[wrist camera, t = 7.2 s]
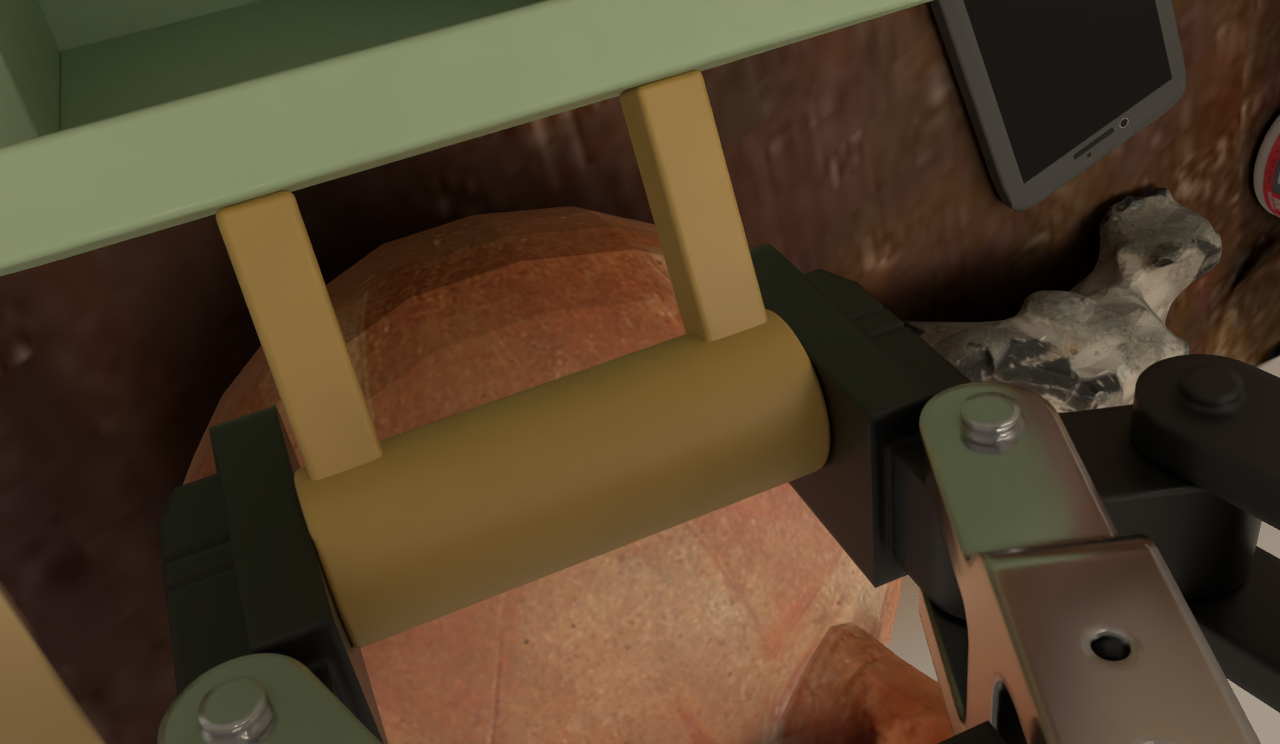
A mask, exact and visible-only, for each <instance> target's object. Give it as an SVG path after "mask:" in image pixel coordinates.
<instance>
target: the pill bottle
mask: <svg viewBox="0 0 1280 744" xmlns="http://www.w3.org/2000/svg"><path fill="white" fill-rule="evenodd" d="M1254 190H1255V193H1256V196H1257V199H1258V201H1259V202H1260V204H1261V205H1262V206H1263V207H1264V208H1265V209H1266V210H1267V211H1268V212H1270V213H1271V214H1273V215H1275V216H1277V217H1279V218H1280V115H1279V116H1278V117H1277V118H1276V120H1275V121H1274V123H1273V124H1272V125H1271V127H1270V129H1269V130H1268V132H1267V134H1266V135H1265V137H1264V140H1263V142H1262V144H1261V146H1260V149H1259V151H1258V155H1257V158H1256V162H1255V167H1254Z"/></svg>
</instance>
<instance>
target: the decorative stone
mask: <svg viewBox="0 0 1280 744" xmlns="http://www.w3.org/2000/svg"><path fill="white" fill-rule="evenodd" d="M1099 231H1100V238H1101V241H1100V252H1099V257H1098V261H1097V264H1096V266H1095V268H1094V269H1093V271H1092V273H1090V274H1089V275H1088V276H1087V277H1086V278H1084V279H1083V280H1082V281H1081V282H1080V283H1078V284H1077V285H1076V286H1075V287H1073V288H1072V289H1071V290H1070V291H1069V292H1066V291H1037V292H1034V293H1032V294H1030V295H1029V296H1028V297H1027V298H1025V300H1024V303H1023V305H1022V308H1021V310H1020V311H1019V312H1018V313H1017V314H1016V316H1014V317H1011V318H1008V319H1006V320H1000V321H989V322H918V321H909V320H906V321H903V325H904V327H909V328H910V329H912V330H913V331H914V332H915V333H916V334H917V335H918V336H920V337H921V338H922V339H923V340H924V341H925V342H927V343H928V344H929V345H930V346H931V347H932V348H934V349H935V350H936V351H937V352H938V353H939V354H940V355H942V356H943V357H944V358H945V359H946V360H947V361H949V362H950V363H951V364H952V365H953V366H954V367H956V368H957V369H958V370H959V371H960V372H961V373H962V374H964V375H965V376H966V377H967V378H968V379H969V380H971V381H972V382H984V381H985V382H1001V383H1008V384H1012V385H1016V386H1020V387H1023V388H1026V389H1028V390H1031V391H1033V392H1035V393H1037V394H1039V395H1040V396H1042V397H1043V398H1045V399H1046V400H1047V401H1048V402H1049V403H1050V404H1051V405H1052V406H1053V407H1054V408H1055V409H1056V411H1057V412H1058V413H1063V412H1076V411H1083V410H1091V409H1099V408H1107V407H1115V406H1122V405H1130V404H1133V401H1134V393H1135V385H1136V382H1137V379H1138V377H1139V376H1140V374H1141V373H1142V372H1143V371H1144V370H1145V369H1146V368H1148V367H1149V366H1150V365H1152V364H1154V363H1156V362H1158V361H1160V360H1163V359H1166V358H1170V357H1174V356H1179V355H1189V354H1191V352H1190V348H1189V344H1188V343H1187V342H1185V341H1184V340H1182V339H1180V338H1179V337H1177V336H1176V335H1175V334H1173V333H1172V332H1171V331H1169V330H1168V328H1167V327H1166V326H1165V319H1166V316H1167V313H1168V310H1169V308H1170V305H1171V303H1172V302H1173V301H1174V299H1175V298H1176V297H1177V296H1178V294H1179V293H1180V292H1181V291H1182V290H1184V289H1185V288H1186V287H1187V286H1188V285H1189V284H1191V283H1192V282H1193V281H1195V280H1196V279H1198V278H1199V277H1200V276H1202V275H1203V274H1205V273H1206V272H1208V271H1210V270H1211V269H1213V268H1214V267H1215V266H1216V265H1217V263H1218V262H1219V261H1220V257H1221V252H1222V244H1221V237H1220V235H1219V233H1218V232H1217V230H1216V229H1214V228H1213V227H1212V226H1211V224H1210V222H1209V221H1208V220H1207V219H1206V218H1204V217H1202V216H1200V215H1199V214H1197V213H1196V212H1195V211H1193V210H1191V209H1189V208H1186V207H1184V206H1182V205H1180V204H1179V203H1177V202H1176V201H1175V200H1174V199H1173V197H1172V196H1171V194H1170V192H1169V190H1168V189H1166V188H1155V189H1153V190H1150V191H1148V192H1146V193H1145V194H1143V195H1142V196H1140V197H1131V196H1128V197H1126V198H1125V199H1124V200H1123V201H1122V202H1119V203H1117V204H1115V205H1113V206H1111V207H1109V209H1108V210H1107V212H1106V214H1105V216H1104V218H1103V220H1102V221H1101V223H1100V229H1099Z"/></svg>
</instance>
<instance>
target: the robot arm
mask: <svg viewBox="0 0 1280 744" xmlns="http://www.w3.org/2000/svg"><path fill="white" fill-rule="evenodd" d="M749 251H750V255H751V259H752V262H753V266H754V270H755V274H756V277H757V281H758V285H759V289H760V292H761V296H762V300H763V304H764V307H765V309H767V310H770V311H772V312H774V313H776V314H777V315H778V316H780V317H781V318H782V319H783V320H784V321H785V322H786V323H787V324H788V326H789V327H790V328H791V329H792V331H793V332H794V334H795V335H796V337H797V338H798V339H799V341H800V343H801V345H802V346H803V348H804V350H805V352H806V354H807V356H808V357H809V359H810V362H811V364H812V366H813V368H814V371H815V373H816V376H817V378H818V381H819V384H820V387H821V389H822V393H823V396H824V400H825V404H826V408H827V412H828V418H829V424H830V436H831V444H830V453H829V457H828V460H827V462H826V463H825V465H824V466H823V467H822V468H821V469H819V470H818V471H816V472H813V473H811V474H808V475H806V476H803V477H800V478H798V479H795V480H793V481H790V482H788V483H789V484H790V485H791V486H792V488H793V489H794V490H795V491H796V492H797V494H798V495H799V496H800V497H801V498H802V500H803V501H804V502H805V503H806V505H807V506H808V507H809V508H810V509H811V511H812V512H813V513H814V514H815V516H816V517H817V518H818V519H819V520H820V522H821V523H822V524H823V525H824V526H825V528H826V529H827V530H828V531H829V533H830V534H831V535H832V536H833V537H834V539H835V540H836V541H837V542H838V543H839V545H840V546H841V547H842V548H843V550H844V551H845V552H846V553H847V554H848V556H849V557H850V558H851V559H852V560H853V562H854V563H855V564H856V565H857V567H858V568H859V569H860V570H861V571H862V573H863V574H864V575H865V576H866V578H867V579H868V580H869V581H870V582H871V584H872V585H873V586H874V587H875V588H877V587H879V586H882V585H884V584H886V583H889V582H891V581H894V580H896V579H898V578H901V577H903V576H906V575H909V576H910V577H911V578H912V579H913V580H914V582H915V583H916V584H917V585H918V586H919V612H920V618H921V622H922V626H923V629H924V632H925V636H926V640H927V643H928V647H929V650H930V654H931V657H932V661H933V664H934V667H935V671H936V675H937V678H938V682H939V686H940V689H941V693H942V696H943V700H944V703H945V707H946V710H947V714H948V717H949V721H950V724H951V728H952V731H953V735H954V736H953V737H950V738H948V739H946V740H944V741H942V742H939V743H937V744H1261V743H1260V741H1259V739H1258V737H1257V735H1256V733H1255V731H1254V730H1253V728H1252V726H1251V724H1250V722H1249V720H1248V718H1247V716H1246V714H1245V712H1244V711H1243V709H1242V707H1241V705H1240V703H1239V701H1238V699H1237V697H1236V695H1235V694H1234V692H1233V690H1232V688H1231V686H1230V684H1229V682H1228V680H1227V679H1229V680H1230V681H1232V682H1233V683H1235V684H1236V685H1238V686H1239V687H1241V688H1243V689H1244V690H1246V691H1247V692H1249V693H1250V694H1252V695H1254V696H1255V697H1256V698H1258V699H1260V700H1261V701H1263V702H1264V703H1266V704H1267V705H1269V706H1270V707H1272V708H1273V709H1275V710H1276V711H1278V712H1279V713H1280V559H1279V558H1277V557H1275V556H1273V555H1272V554H1270V553H1268V552H1266V551H1264V550H1263V549H1261V548H1259V547H1257V546H1256V544H1257V539H1258V535H1259V531H1260V526H1261V522H1262V521H1264V522H1266V523H1267V524H1269V525H1271V526H1273V527H1275V528H1277V529H1278V530H1280V378H1279V377H1277V376H1274V375H1272V374H1270V373H1268V372H1265V371H1263V370H1261V369H1259V368H1256V367H1254V366H1252V365H1249V364H1247V363H1244V362H1242V361H1239V360H1235V359H1231V358H1228V357H1222V356H1216V355H1206V354H1189V355H1179V356H1174V357H1170V358H1166V359H1163V360H1160V361H1158V362H1156V363H1154V364H1152V365H1150V366H1149V367H1148V368H1146V369H1145V370H1144V371H1143V372H1142V373H1141V374H1140V376H1139V377H1138V379H1137V382H1136V385H1135V393H1134V401H1133V404H1130V405H1122V406H1115V407H1107V408H1099V409H1091V410H1083V411H1076V412H1063V413H1058V412H1057V411H1056V409H1055V408H1054V407H1053V406H1052V405H1051V404H1050V403H1049V402H1048V401H1047V400H1046V399H1045V398H1043V397H1042V396H1040V395H1039V394H1037V393H1035V392H1033V391H1031V390H1028V389H1026V388H1023V387H1020V386H1016V385H1012V384H1008V383H1001V382H985V381H984V382H972V381H971V380H969V379H968V378H967V377H966V376H965V375H964V374H962V373H961V372H960V371H959V370H958V369H957V368H956V367H954V366H953V365H952V364H951V363H950V362H949V361H947V360H946V359H945V358H944V357H943V356H942V355H940V354H939V353H938V352H937V351H936V350H935V349H934V348H932V347H931V346H930V345H929V344H928V343H927V342H925V341H924V340H923V339H922V338H921V337H920V336H918V335H917V334H916V333H915V332H914V331H913V330H912V329H910V328H909V327H904V325H903V322H902V321H901V320H900V319H899V318H898V317H896V316H895V315H894V314H893V313H892V312H891V311H890V310H888V309H885V310H884V308H883V304H881V303H880V302H879V301H878V300H877V299H876V298H874V297H873V296H872V295H871V294H870V293H869V292H868V291H866V290H865V289H864V288H863V287H862V286H861V285H859V284H858V283H857V282H854V281H851V280H849V279H846V278H843V277H841V276H838V275H835V274H833V273H830V272H827V271H825V270H822V269H818V270H815V271H812V272H809V273H806V274H803V273H801V272H800V271H799V270H798V269H797V268H796V267H795V266H794V265H793V264H792V263H791V262H789V261H788V260H787V259H786V258H785V257H784V256H783V255H782V254H781V253H780V252H778V251H777V250H776V249H775V248H774V247H773V246H771V245H769V244H763V245H760V246H757V247H754V248H751V249H749ZM209 433H210V439H211V444H212V449H213V455H214V460H215V465H216V471H217V474H214V475H211V476H208V477H205V478H202V479H199V480H196V481H193V482H190V483H187V484H184V485H181V486H178V487H176V488H174V490H173V492H172V495H171V497H170V499H169V501H168V503H167V506H166V508H165V510H164V512H163V514H162V517H161V519H160V521H159V523H158V529H159V537H160V546H161V555H162V560H163V562H164V565H163V572H164V581H165V587H166V589H167V593H166V598H167V607H168V615H169V624H170V632H171V641H172V650H173V658H174V667H175V676H176V684H177V697H176V699H175V700H174V701H173V702H172V703H171V705H170V707H169V708H168V710H167V711H166V713H165V715H164V717H163V719H162V722H161V724H160V727H159V731H158V736H157V744H388V741H387V738H386V734H385V731H384V728H383V724H382V721H381V717H380V714H379V710H378V707H377V704H376V700H375V697H374V693H373V690H372V687H371V683H370V680H369V676H368V673H367V670H366V666H365V663H364V659H363V656H362V652H361V649H360V648H356V647H355V646H354V645H353V644H352V643H351V641H350V640H349V638H348V636H347V633H346V631H345V629H344V626H343V624H342V622H341V619H340V617H339V614H338V612H337V609H336V606H335V604H334V601H333V598H332V596H331V593H330V590H329V588H328V585H327V582H326V579H325V577H324V574H323V571H322V568H321V565H320V562H319V560H318V557H317V554H316V551H315V548H314V545H313V542H312V539H311V536H310V534H309V531H308V528H307V525H306V522H305V519H304V516H303V512H302V509H301V506H300V502H299V499H298V495H297V492H296V488H295V483H294V473H295V472H296V471H297V470H298V469H300V468H301V467H300V465H299V462H298V460H297V457H296V455H295V452H294V449H293V447H292V444H291V442H290V439H289V436H288V434H287V431H286V429H285V426H284V424H283V421H282V418H281V416H280V414H279V411H278V409H277V407H276V405H274V406H271V407H268V408H265V409H262V410H259V411H256V412H253V413H250V414H247V415H244V416H241V417H238V418H235V419H232V420H229V421H226V422H223V423H220V424H217V425H214V426H211V427H209Z"/></svg>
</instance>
